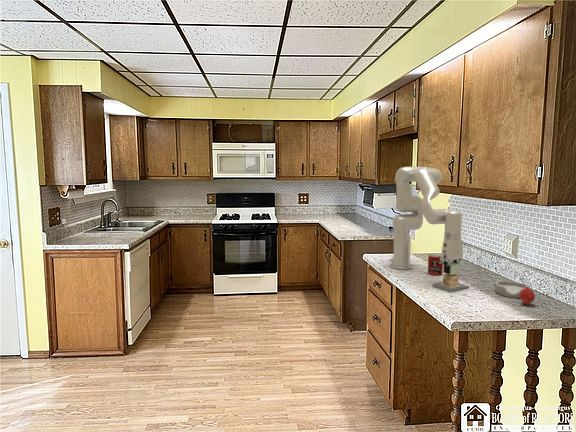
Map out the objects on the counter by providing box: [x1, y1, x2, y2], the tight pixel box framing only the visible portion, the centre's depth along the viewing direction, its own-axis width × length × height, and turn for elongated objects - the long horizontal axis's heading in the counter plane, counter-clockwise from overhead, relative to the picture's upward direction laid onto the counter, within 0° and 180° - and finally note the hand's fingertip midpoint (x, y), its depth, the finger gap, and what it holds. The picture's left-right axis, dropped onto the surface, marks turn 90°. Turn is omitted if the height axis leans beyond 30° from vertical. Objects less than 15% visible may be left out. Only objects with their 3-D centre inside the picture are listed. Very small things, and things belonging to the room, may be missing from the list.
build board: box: [431, 281, 470, 293], centre depth 196 cm, size 11×13×1 cm
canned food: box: [427, 252, 444, 277], centre depth 221 cm, size 8×8×11 cm
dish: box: [493, 280, 531, 299], centre depth 186 cm, size 14×14×5 cm
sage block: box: [442, 261, 460, 275], centre depth 195 cm, size 5×5×5 cm
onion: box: [519, 286, 536, 305], centre depth 171 cm, size 6×6×8 cm
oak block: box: [442, 273, 459, 287], centre depth 196 cm, size 5×5×5 cm
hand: (450, 272), depth 196 cm, fingers closed on sage block, 5 cm apart
